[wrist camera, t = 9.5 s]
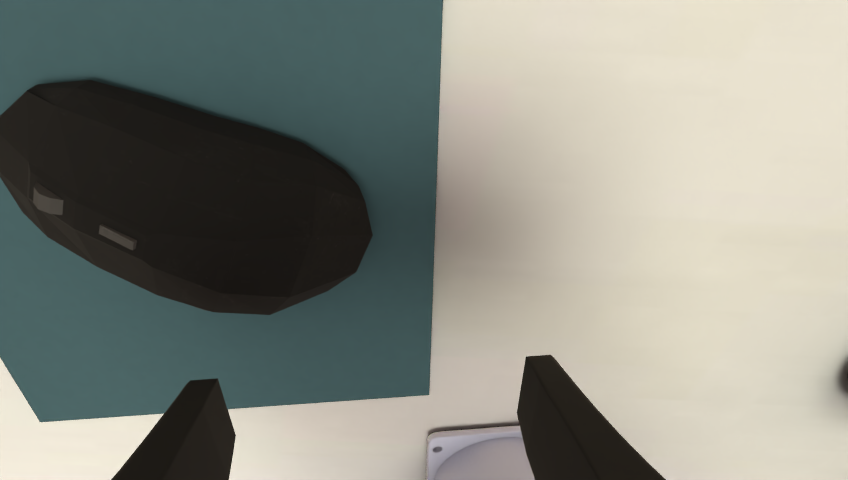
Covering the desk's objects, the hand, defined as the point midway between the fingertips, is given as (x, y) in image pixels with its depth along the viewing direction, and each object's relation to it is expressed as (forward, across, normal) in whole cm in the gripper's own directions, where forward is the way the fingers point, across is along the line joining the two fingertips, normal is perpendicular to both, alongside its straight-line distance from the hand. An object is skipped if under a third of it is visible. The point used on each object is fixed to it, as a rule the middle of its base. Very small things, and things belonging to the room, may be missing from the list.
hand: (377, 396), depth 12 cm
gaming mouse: (+8, +7, -2) cm, 11 cm away
